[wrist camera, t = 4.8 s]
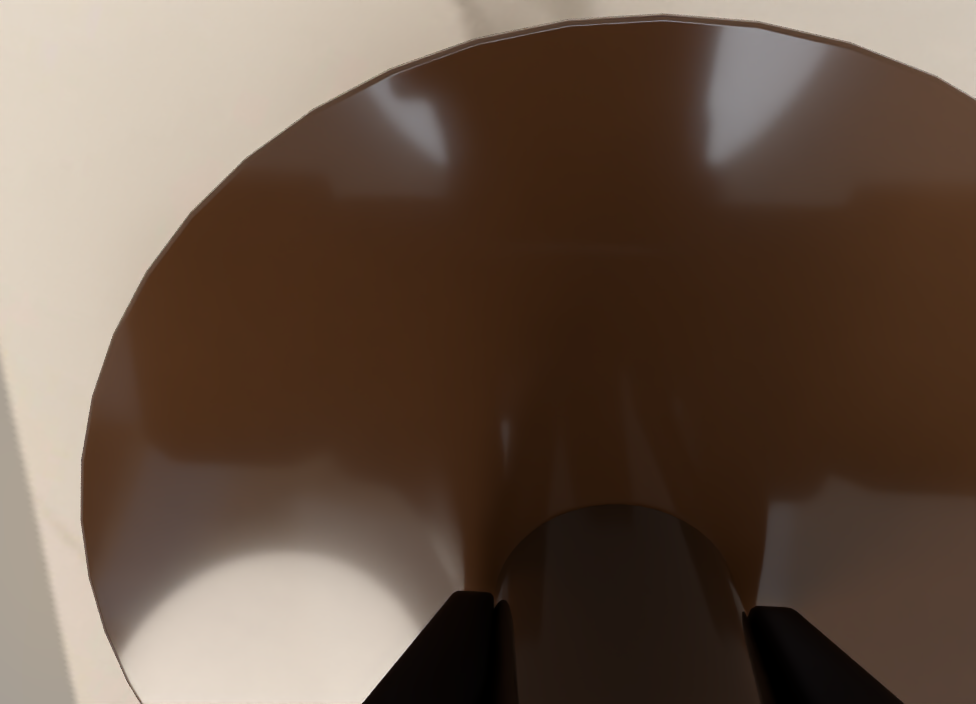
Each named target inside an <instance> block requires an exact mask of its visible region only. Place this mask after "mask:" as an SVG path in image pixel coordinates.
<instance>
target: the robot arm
mask: <svg viewBox="0 0 976 704" xmlns="http://www.w3.org/2000/svg"><path fill="white" fill-rule="evenodd" d="M493 618H494V597H493V595H492V594H491V593H490V592H480V591H456V592H454V593H453V594H452V595H451V596H450V597H449V598H448V600H447V601H446V602H445V603H444V605H443V606H442V607H441V608H440V609H439V611H438V612H437V613H436V614H435V615H434V617H433V618H432V619H431V620H430V621H429V623H428V624H427V625H426V626H425V628H424V629H423V630H422V631H421V632H420V634H419V635H418V636H417V637H416V638H415V640H414V641H413V642H412V643H411V645H410V646H409V647H408V648H407V649H406V651H405V652H404V653H403V654H402V655H401V657H400V658H399V659H398V660H397V662H396V663H395V664H394V665H393V666H392V668H391V669H390V670H389V671H388V672H387V674H386V675H385V676H384V677H383V679H382V680H381V681H380V682H379V683H378V685H377V686H376V687H375V688H374V689H373V691H372V692H371V693H370V694H369V696H368V697H367V698H366V699H365V700H364V702H363V703H362V704H486V701H487V689H488V677H489V665H490V654H491V642H492V630H493ZM747 618H748V620H749V623H750V626H751V629H752V632H753V635H754V637H755V640H756V643H757V646H758V649H759V652H760V654H761V657H762V660H763V663H764V666H765V669H766V671H767V674H768V677H769V680H770V683H771V686H772V689H773V691H774V694H775V697H776V700H777V703H778V704H904V703H903V702H902V701H901V700H900V699H899V698H897V697H896V696H895V695H894V694H893V693H892V692H890V691H889V690H888V689H887V688H886V687H885V686H883V685H882V684H881V683H880V682H879V681H878V680H876V679H875V678H874V677H873V676H872V675H871V674H870V673H868V672H867V671H866V670H865V669H864V668H863V667H861V666H860V665H859V664H858V663H857V662H856V661H854V660H853V659H852V658H851V657H850V656H849V655H847V654H846V653H845V652H844V651H843V650H842V649H840V648H839V647H838V646H837V645H836V644H835V643H833V642H832V641H831V640H830V639H829V638H828V637H826V636H825V635H824V634H823V633H822V632H821V631H819V630H818V629H817V628H816V627H815V626H814V625H812V624H811V623H810V622H809V621H808V620H807V619H805V618H804V617H803V616H802V615H801V614H800V613H798V612H797V611H796V610H794V609H792V608H789V607H775V606H755V607H753V608H752V609H751V610H750V612H749V614H748V617H747Z"/></svg>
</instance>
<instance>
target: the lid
mask: <svg viewBox="0 0 976 704" xmlns="http://www.w3.org/2000/svg"><path fill="white" fill-rule="evenodd" d="M81 526H82V533H83V540H84V547H85V554H86V562H87V569H88V576H89V580H90V583H91V587H92V590H93V594H94V597H95V600H96V604H97V607H98V611H99V614H100V618H101V621H102V624H103V628H104V631H105V633H106V636H107V638H108V640H109V642H110V645H111V647H112V649H113V651H114V653H115V656H116V658H117V660H118V662H119V665H120V667H121V669H122V671H123V673H124V676H125V678H126V680H127V682H128V684H129V686H130V687H131V689H132V690H133V692H134V694H135V695H136V697H137V698H138V700H139V702H140V703H141V704H362V703H363V702H364V700H365V699H366V698H367V697H368V696H369V694H370V693H371V692H372V691H373V689H374V688H375V687H376V686H377V685H378V683H379V682H380V681H381V680H382V679H383V677H384V676H385V675H386V674H387V672H388V671H389V670H390V669H391V668H392V666H393V665H394V664H395V663H396V662H397V660H398V659H399V658H400V657H401V655H402V654H403V653H404V652H405V651H406V649H407V648H408V647H409V646H410V645H411V643H412V642H413V641H414V640H415V638H416V637H417V636H418V635H419V634H420V632H421V631H422V630H423V629H424V628H425V626H426V625H427V624H428V623H429V621H430V620H431V619H432V618H433V617H434V615H435V614H436V613H437V612H438V611H439V609H440V608H441V607H442V606H443V605H444V603H445V602H446V601H447V600H448V598H449V597H450V596H451V595H452V594H453V593H454V592H456V591H480V592H490V593H491V594H492V595H493V597H494V618H493V630H492V642H491V654H490V665H489V677H488V689H487V701H486V704H778V703H777V700H776V697H775V694H774V691H773V689H772V686H771V683H770V680H769V677H768V674H767V671H766V669H765V666H764V663H763V660H762V657H761V654H760V652H759V649H758V646H757V643H756V640H755V637H754V635H753V632H752V629H751V626H750V623H749V620H748V618H747V617H748V614H749V612H750V610H751V609H752V608H753V607H755V606H775V607H789V608H792V609H794V610H796V611H797V612H798V613H800V614H801V615H802V616H803V617H804V618H805V619H807V620H808V621H809V622H810V623H811V624H812V625H814V626H815V627H816V628H817V629H818V630H819V631H821V632H822V633H823V634H824V635H825V636H826V637H828V638H829V639H830V640H831V641H832V642H833V643H835V644H836V645H837V646H838V647H839V648H840V649H842V650H843V651H844V652H845V653H846V654H847V655H849V656H850V657H851V658H852V659H853V660H854V661H856V662H857V663H858V664H859V665H860V666H861V667H863V668H864V669H865V670H866V671H867V672H868V673H870V674H871V675H872V676H873V677H874V678H875V679H876V680H878V681H879V682H880V683H881V684H882V685H883V686H885V687H886V688H887V689H888V690H889V691H890V692H892V693H893V694H894V695H895V696H896V697H897V698H899V699H900V700H901V701H902V702H903V703H904V704H976V99H975V98H974V97H972V96H970V95H968V94H967V93H965V92H963V91H962V90H960V89H958V88H956V87H955V86H953V85H951V84H949V83H948V82H946V81H944V80H943V79H941V78H939V77H937V76H936V75H933V74H930V73H928V72H925V71H923V70H920V69H918V68H915V67H913V66H910V65H907V64H905V63H902V62H900V61H897V60H895V59H892V58H890V57H887V56H884V55H882V54H879V53H877V52H874V51H872V50H869V49H867V48H864V47H861V46H859V45H856V44H854V43H851V42H847V41H843V40H839V39H834V38H830V37H825V36H821V35H817V34H812V33H808V32H804V31H799V30H795V29H790V28H786V27H782V26H777V25H773V24H768V23H764V22H760V21H750V20H737V19H725V18H713V17H700V16H688V15H675V14H647V15H630V16H614V17H597V18H581V19H567V20H562V21H557V22H552V23H547V24H542V25H537V26H532V27H528V28H523V29H518V30H513V31H508V32H503V33H498V34H493V35H488V36H483V37H478V38H474V39H472V40H469V41H466V42H463V43H460V44H458V45H455V46H452V47H449V48H446V49H443V50H441V51H438V52H435V53H432V54H429V55H427V56H424V57H421V58H418V59H415V60H412V61H410V62H407V63H404V64H401V65H398V66H396V67H393V68H390V69H388V70H386V71H384V72H382V73H380V74H379V75H377V76H375V77H373V78H371V79H369V80H367V81H365V82H363V83H361V84H359V85H358V86H356V87H354V88H352V89H350V90H348V91H346V92H344V93H342V94H340V95H338V96H337V97H335V98H333V99H331V100H329V101H327V102H325V103H323V104H321V105H319V106H318V107H316V108H314V109H312V110H311V111H309V112H308V113H307V114H305V115H304V116H303V117H301V118H300V119H298V120H297V121H296V122H294V123H293V124H291V125H290V126H289V127H287V128H286V129H285V130H283V131H282V132H280V133H279V134H278V135H276V136H275V137H274V138H272V139H271V140H269V141H268V142H267V143H265V144H264V145H263V146H261V147H260V148H258V149H257V150H256V151H254V152H253V153H252V154H250V155H249V156H247V157H246V158H245V159H244V160H243V161H242V162H241V163H240V164H239V165H238V166H237V167H236V168H235V169H234V170H233V171H232V172H231V173H230V174H229V175H228V176H227V177H226V178H225V179H224V180H223V181H222V182H221V183H220V184H219V185H218V186H217V187H215V188H214V189H213V190H212V191H211V192H210V193H209V194H208V195H207V196H206V197H205V198H204V199H203V200H202V201H201V202H200V203H199V204H198V205H197V206H196V207H195V208H194V209H193V210H192V211H191V212H190V213H189V215H188V216H187V217H186V219H185V220H184V221H183V223H182V224H181V225H180V227H179V228H178V229H177V231H176V232H175V233H174V235H173V236H172V237H171V239H170V240H169V241H168V243H167V244H166V245H165V247H164V248H163V249H162V251H161V252H160V253H159V255H158V256H157V257H156V259H155V260H154V262H153V263H152V264H151V266H150V267H149V268H148V270H147V271H146V273H145V274H144V276H143V278H142V280H141V282H140V284H139V286H138V288H137V290H136V292H135V293H134V295H133V297H132V299H131V301H130V303H129V305H128V307H127V309H126V310H125V312H124V314H123V316H122V318H121V320H120V322H119V324H118V326H117V328H116V329H115V331H114V333H113V336H112V339H111V342H110V345H109V348H108V351H107V354H106V357H105V360H104V363H103V366H102V369H101V372H100V375H99V378H98V380H97V383H96V386H95V389H94V392H93V395H92V400H91V406H90V412H89V418H88V424H87V430H86V436H85V441H84V447H83V453H82V459H81Z"/></svg>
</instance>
